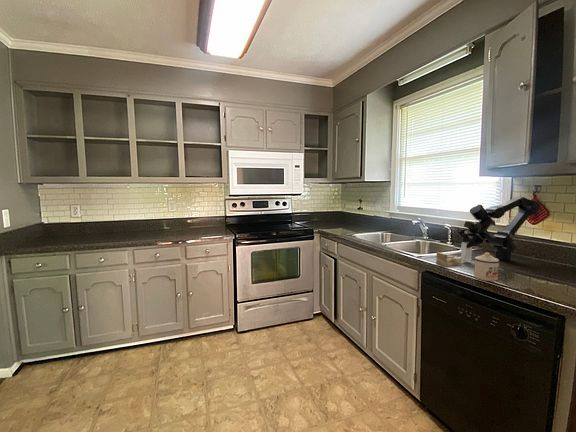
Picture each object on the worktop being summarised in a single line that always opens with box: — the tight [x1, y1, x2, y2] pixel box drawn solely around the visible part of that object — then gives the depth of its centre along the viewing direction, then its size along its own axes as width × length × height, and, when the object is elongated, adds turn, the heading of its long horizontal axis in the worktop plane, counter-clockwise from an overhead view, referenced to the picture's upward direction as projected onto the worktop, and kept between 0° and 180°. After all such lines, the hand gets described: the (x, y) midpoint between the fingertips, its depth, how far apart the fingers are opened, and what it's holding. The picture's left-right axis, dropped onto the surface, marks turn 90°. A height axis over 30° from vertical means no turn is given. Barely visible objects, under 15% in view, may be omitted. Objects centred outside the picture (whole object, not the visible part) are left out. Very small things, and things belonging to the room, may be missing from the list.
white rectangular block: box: [460, 241, 473, 262], centre depth 152 cm, size 4×3×10 cm
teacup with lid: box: [473, 252, 500, 282], centre depth 126 cm, size 12×9×12 cm
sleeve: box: [435, 251, 462, 267], centre depth 150 cm, size 10×6×6 cm, turn 103°
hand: (464, 247), depth 151 cm, fingers closed on white rectangular block, 3 cm apart
